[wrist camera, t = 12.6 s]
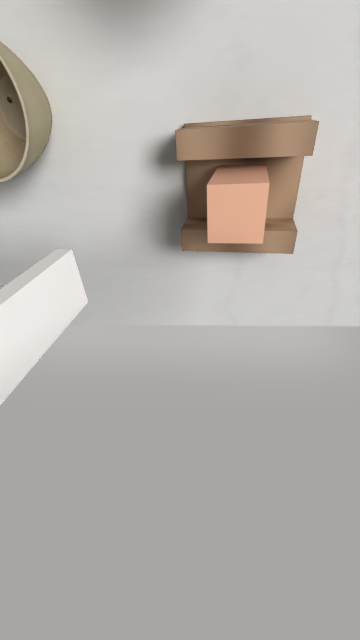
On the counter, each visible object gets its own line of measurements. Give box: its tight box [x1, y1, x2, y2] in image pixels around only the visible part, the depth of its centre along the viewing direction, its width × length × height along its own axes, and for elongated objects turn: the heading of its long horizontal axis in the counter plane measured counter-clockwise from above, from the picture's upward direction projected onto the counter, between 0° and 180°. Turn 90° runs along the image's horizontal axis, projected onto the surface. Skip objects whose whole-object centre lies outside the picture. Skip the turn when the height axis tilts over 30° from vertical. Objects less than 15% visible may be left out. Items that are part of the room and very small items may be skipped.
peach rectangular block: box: [207, 163, 270, 244], centre depth 22 cm, size 4×4×8 cm
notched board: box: [175, 115, 319, 254], centre depth 24 cm, size 10×10×4 cm
